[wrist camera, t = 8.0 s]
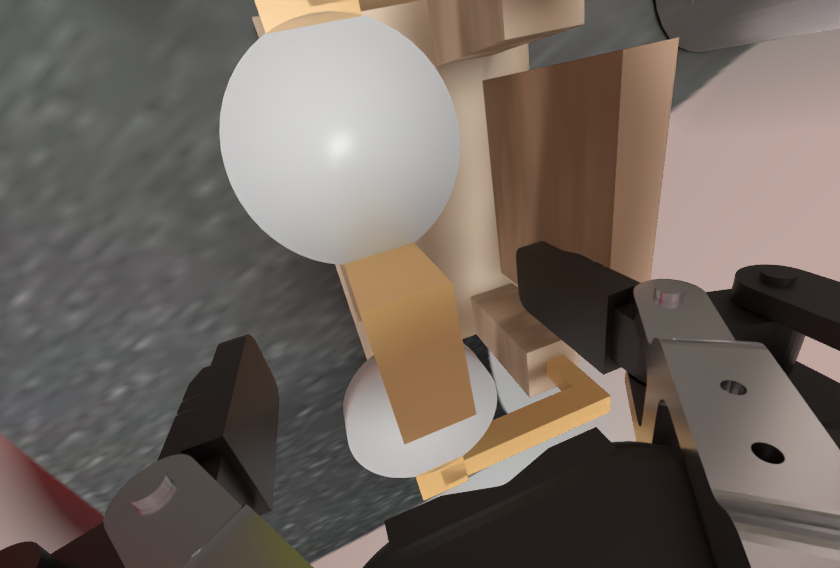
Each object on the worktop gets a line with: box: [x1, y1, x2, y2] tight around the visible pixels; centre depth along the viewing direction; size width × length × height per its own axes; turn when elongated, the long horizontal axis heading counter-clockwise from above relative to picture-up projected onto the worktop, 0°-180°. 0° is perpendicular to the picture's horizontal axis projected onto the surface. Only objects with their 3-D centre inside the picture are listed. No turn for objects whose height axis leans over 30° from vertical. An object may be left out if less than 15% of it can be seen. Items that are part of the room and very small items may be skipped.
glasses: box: [219, 0, 611, 500], centre depth 11 cm, size 11×18×6 cm, turn 13°
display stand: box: [252, 0, 679, 397], centre depth 17 cm, size 12×19×10 cm, turn 12°
